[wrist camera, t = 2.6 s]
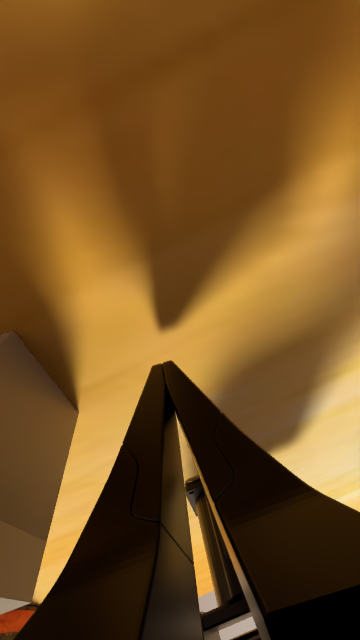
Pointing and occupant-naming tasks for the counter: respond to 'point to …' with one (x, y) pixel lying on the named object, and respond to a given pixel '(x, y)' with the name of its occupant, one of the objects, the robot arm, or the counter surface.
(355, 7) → the counter surface
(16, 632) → the beer stein
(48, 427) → the grey stepped block
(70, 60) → the counter surface
